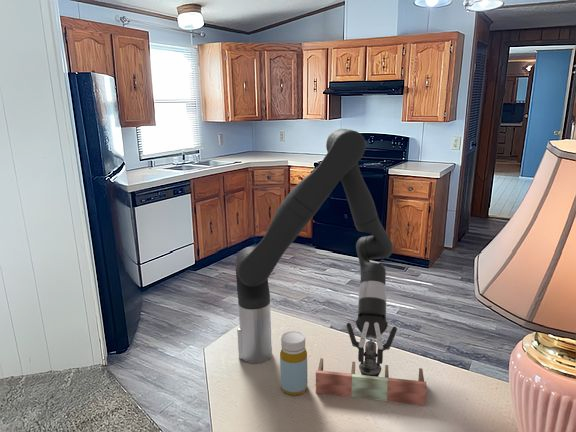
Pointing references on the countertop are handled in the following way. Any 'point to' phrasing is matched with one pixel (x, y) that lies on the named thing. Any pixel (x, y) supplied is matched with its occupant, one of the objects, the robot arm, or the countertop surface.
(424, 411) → the countertop surface
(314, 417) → the countertop surface
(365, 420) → the countertop surface
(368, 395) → the bay rack
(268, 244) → the robot arm
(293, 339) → the bottle
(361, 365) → the grey chess piece
